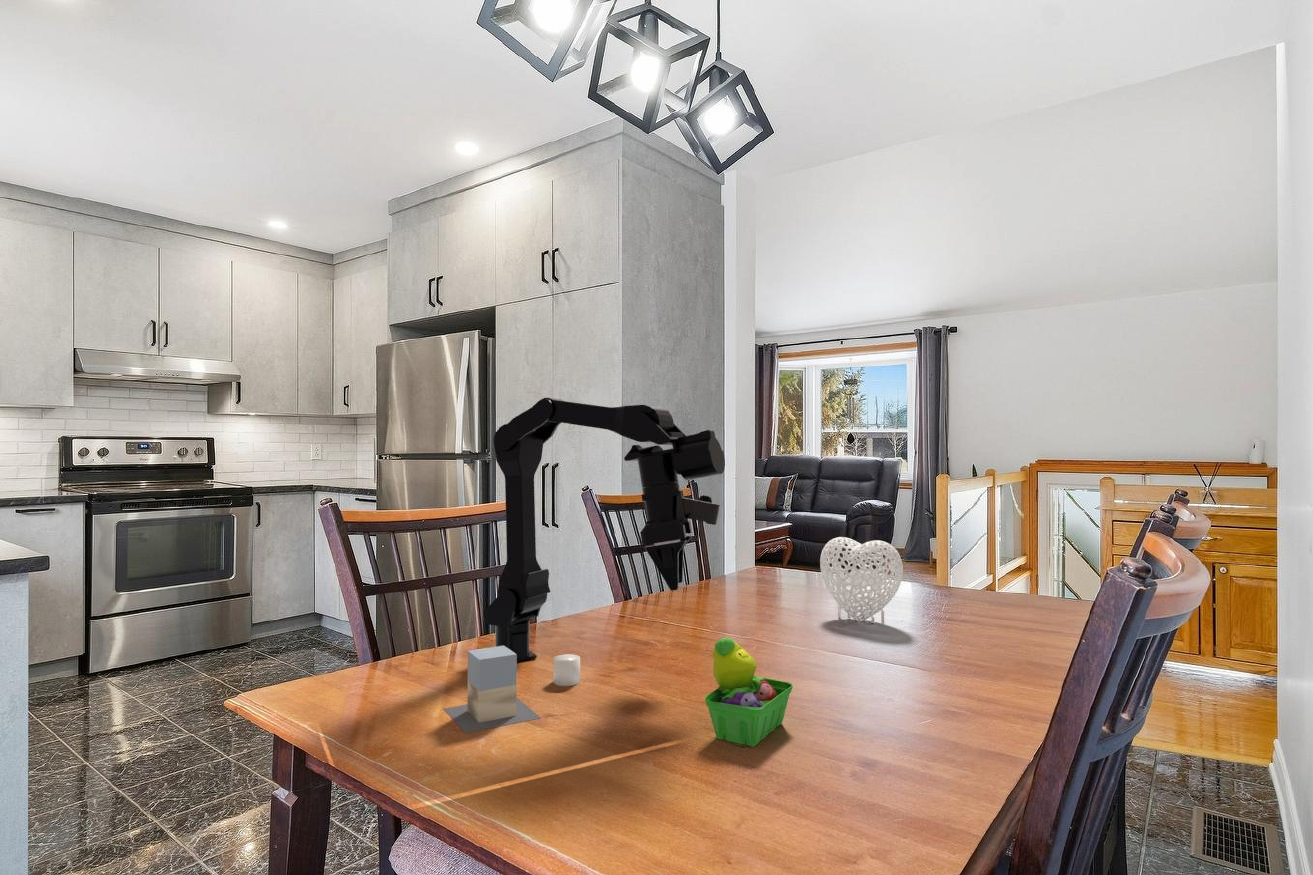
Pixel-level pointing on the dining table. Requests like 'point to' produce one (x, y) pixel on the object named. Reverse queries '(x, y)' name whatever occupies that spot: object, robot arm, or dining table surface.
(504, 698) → the bottom block
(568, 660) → the white cylinder
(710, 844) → the dining table surface
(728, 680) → the fruit basket
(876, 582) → the decorative heart
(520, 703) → the mat
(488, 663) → the top block
